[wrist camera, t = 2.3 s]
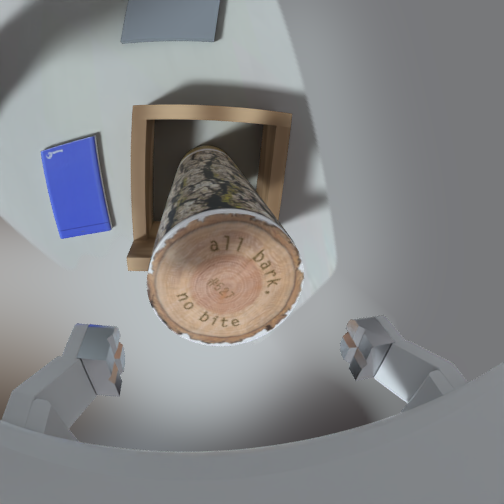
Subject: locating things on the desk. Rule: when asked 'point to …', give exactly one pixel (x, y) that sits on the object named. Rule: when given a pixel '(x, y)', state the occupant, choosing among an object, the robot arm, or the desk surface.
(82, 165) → the hard drive
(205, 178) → the wooden log
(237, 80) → the desk surface
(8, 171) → the desk surface
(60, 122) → the desk surface
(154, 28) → the slate pad
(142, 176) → the frame
